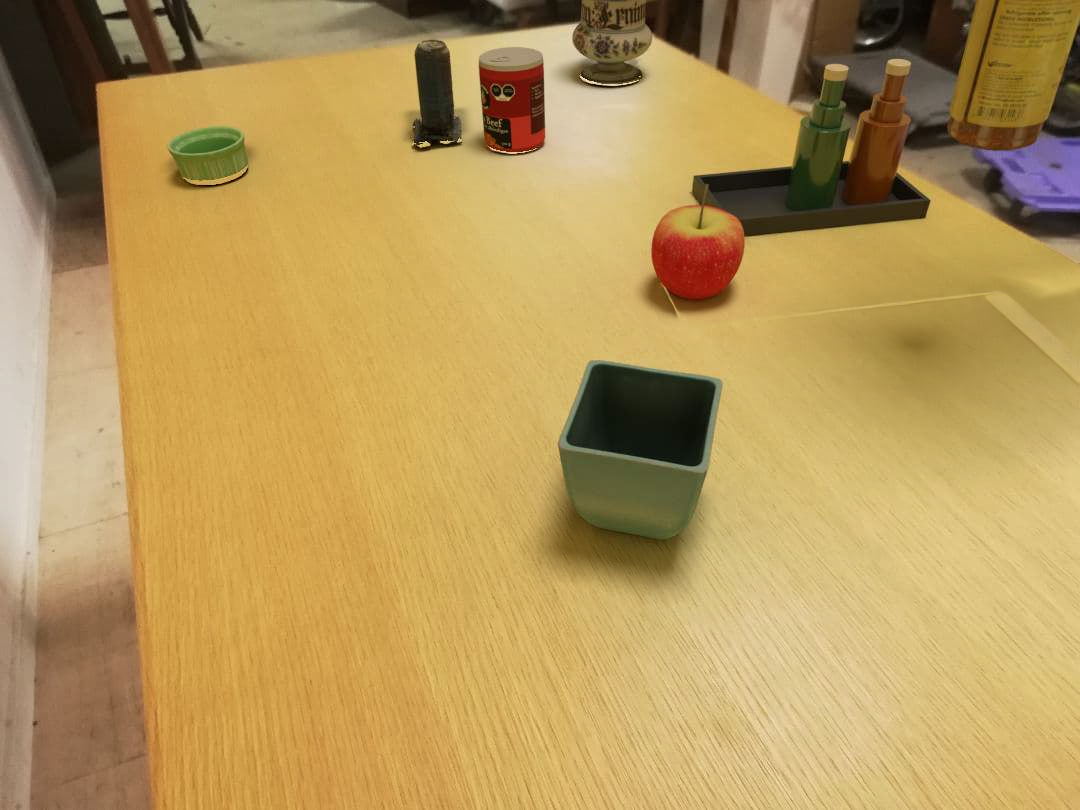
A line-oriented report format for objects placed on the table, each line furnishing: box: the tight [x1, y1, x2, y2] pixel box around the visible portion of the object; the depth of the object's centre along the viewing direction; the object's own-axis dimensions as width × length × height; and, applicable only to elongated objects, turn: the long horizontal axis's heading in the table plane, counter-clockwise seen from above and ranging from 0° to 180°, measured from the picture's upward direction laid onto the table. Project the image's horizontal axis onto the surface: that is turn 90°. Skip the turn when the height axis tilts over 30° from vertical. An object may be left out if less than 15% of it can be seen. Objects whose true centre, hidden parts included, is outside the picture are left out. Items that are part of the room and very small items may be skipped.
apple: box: [650, 184, 746, 300], centre depth 71 cm, size 8×8×10 cm
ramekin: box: [166, 125, 249, 181], centre depth 97 cm, size 9×9×4 cm
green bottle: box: [785, 63, 852, 211], centre depth 82 cm, size 5×5×14 cm
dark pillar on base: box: [412, 39, 462, 147], centre depth 102 cm, size 9×8×12 cm
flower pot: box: [557, 359, 723, 541], centre depth 51 cm, size 9×9×9 cm
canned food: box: [478, 46, 546, 152], centre depth 99 cm, size 8×8×11 cm
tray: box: [691, 160, 932, 238], centre depth 86 cm, size 22×11×2 cm, turn 99°
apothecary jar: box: [571, 0, 653, 84], centre depth 116 cm, size 12×12×18 cm
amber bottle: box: [841, 58, 912, 206], centre depth 82 cm, size 5×5×14 cm
